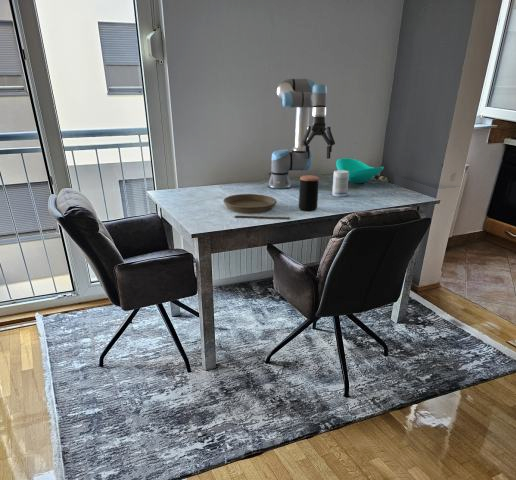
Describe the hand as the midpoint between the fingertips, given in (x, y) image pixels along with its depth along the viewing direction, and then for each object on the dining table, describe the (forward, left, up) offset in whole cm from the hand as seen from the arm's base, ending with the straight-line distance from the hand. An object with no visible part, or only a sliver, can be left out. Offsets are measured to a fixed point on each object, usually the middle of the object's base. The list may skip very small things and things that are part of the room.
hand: (318, 158), depth 263 cm
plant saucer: (+5, -38, -27) cm, 47 cm away
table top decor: (-71, +31, -27) cm, 82 cm away
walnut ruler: (+25, -29, -27) cm, 47 cm away
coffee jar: (+5, -4, -27) cm, 28 cm away
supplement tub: (-31, +16, -27) cm, 45 cm away
